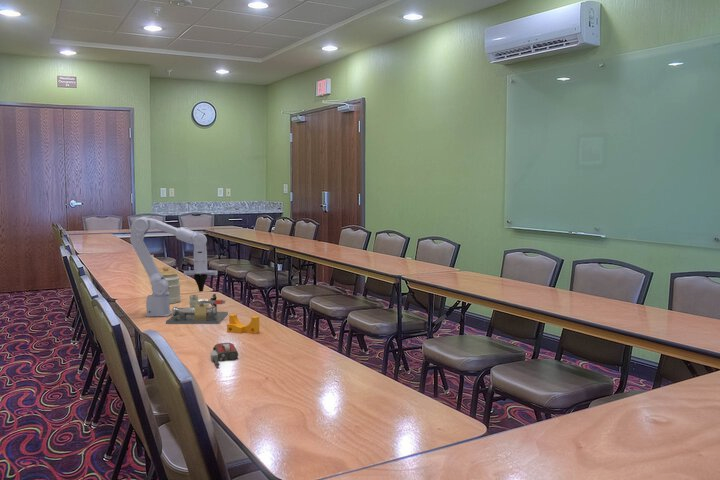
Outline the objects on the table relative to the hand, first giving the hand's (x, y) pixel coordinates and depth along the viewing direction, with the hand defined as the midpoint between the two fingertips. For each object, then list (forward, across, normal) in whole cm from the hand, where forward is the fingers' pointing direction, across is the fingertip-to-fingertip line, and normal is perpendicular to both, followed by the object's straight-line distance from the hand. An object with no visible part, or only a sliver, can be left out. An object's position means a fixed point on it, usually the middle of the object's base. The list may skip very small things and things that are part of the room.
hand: (201, 291), depth 265 cm
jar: (+10, -23, +25) cm, 35 cm away
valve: (+10, -2, +9) cm, 14 cm away
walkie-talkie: (+10, +24, -68) cm, 73 cm away
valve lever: (+4, +8, -12) cm, 15 cm away
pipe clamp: (+10, +24, -34) cm, 43 cm away
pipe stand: (+10, +1, -11) cm, 15 cm away
